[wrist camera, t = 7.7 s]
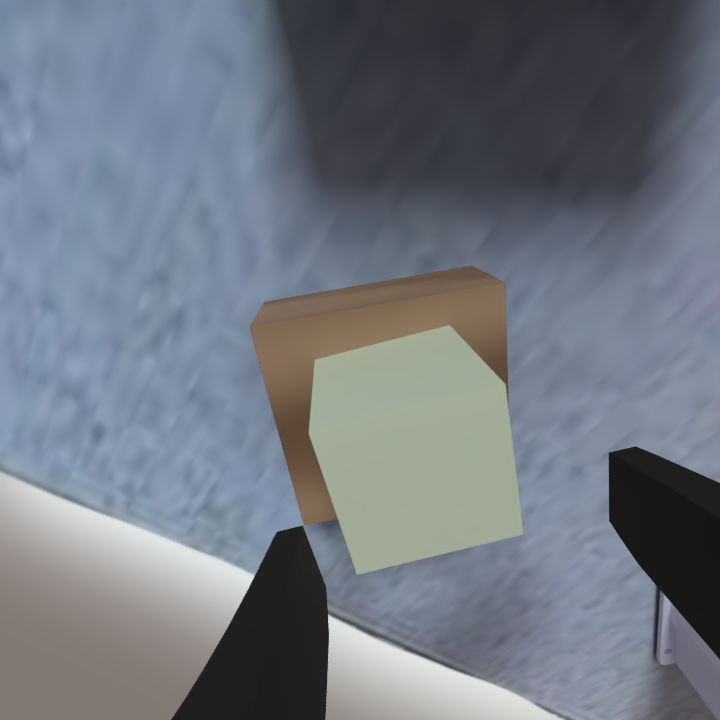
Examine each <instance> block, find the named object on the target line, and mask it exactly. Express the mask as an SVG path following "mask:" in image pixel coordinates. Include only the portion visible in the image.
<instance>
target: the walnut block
mask: <svg viewBox="0 0 720 720" xmlns="http://www.w3.org/2000/svg"><path fill="white" fill-rule="evenodd" d="M448 325H450V326H451V327H452V328H453V329H454V330H455V331H456V332H457V333H458V334H459V335H460V337H461V338H462V339H463V340H464V341H465V342H466V343H467V344H468V345H469V346H470V347H471V348H472V349H473V350H474V351H475V352H476V354H477V355H478V356H479V357H480V358H481V359H482V360H483V361H484V362H485V363H486V364H487V365H488V366H489V367H490V368H491V369H492V370H493V372H494V373H495V374H496V375H497V376H498V377H499V378H500V379H501V380H502V381H503V382H504V383H505V385H506V394H507V402H508V368H507V331H506V294H505V282H503V281H501V280H499V279H497V278H495V277H493V276H491V275H489V274H487V273H485V272H483V271H481V270H479V269H477V268H475V267H473V266H467V267H462V268H456V269H450V270H445V271H439V272H433V273H428V274H422V275H416V276H410V277H405V278H399V279H393V280H388V281H382V282H376V283H370V284H365V285H359V286H353V287H348V288H342V289H336V290H330V291H325V292H319V293H313V294H308V295H302V296H296V297H291V298H285V299H279V300H273V301H268V302H264V304H263V306H262V307H261V309H260V311H259V312H258V314H257V316H256V317H255V319H254V321H253V322H252V324H251V325H250V331H251V335H252V338H253V342H254V346H255V349H256V353H257V356H258V360H259V364H260V367H261V371H262V375H263V378H264V382H265V386H266V389H267V393H268V396H269V400H270V404H271V407H272V411H273V415H274V418H275V422H276V425H277V429H278V433H279V436H280V440H281V444H282V447H283V451H284V454H285V458H286V462H287V465H288V469H289V473H290V476H291V480H292V483H293V487H294V491H295V494H296V498H297V502H298V505H299V509H300V512H301V516H302V520H303V523H304V525H308V524H314V523H320V522H325V521H331V520H337V519H338V518H337V515H336V512H335V509H334V506H333V503H332V500H331V497H330V494H329V491H328V488H327V486H326V483H325V480H324V477H323V474H322V471H321V468H320V465H319V462H318V459H317V456H316V454H315V451H314V448H313V445H312V442H311V439H310V436H309V424H310V411H311V399H312V387H313V375H314V363H315V359H319V358H323V357H327V356H331V355H335V354H339V353H343V352H347V351H351V350H354V349H358V348H362V347H366V346H370V345H374V344H378V343H382V342H386V341H390V340H394V339H397V338H401V337H405V336H409V335H413V334H417V333H421V332H425V331H429V330H433V329H437V328H441V327H445V326H448ZM508 410H509V406H508Z"/></svg>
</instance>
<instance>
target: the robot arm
mask: <svg viewBox="0 0 720 720" xmlns="http://www.w3.org/2000/svg"><path fill="white" fill-rule="evenodd" d="M609 521H610V523H611V524H612V526H613V527H614V529H615V530H616V532H617V533H618V535H619V536H620V538H621V539H622V541H623V542H624V544H625V545H626V547H627V548H628V550H629V551H630V553H631V554H632V555H633V557H634V558H635V560H636V561H637V563H638V564H639V565H640V566H641V568H642V569H643V570H644V571H645V572H646V574H647V575H648V576H649V577H650V578H651V580H652V581H653V582H654V583H655V584H656V586H657V587H658V588H659V589H660V602H659V619H658V636H657V652H656V658H657V660H658V661H659V663H660V664H661V665H669V664H674V663H676V664H677V666H678V667H679V668H680V670H681V671H682V673H683V674H684V675H685V677H686V678H687V679H688V681H689V682H690V683H691V685H692V686H693V687H694V689H695V690H696V691H697V693H698V694H699V695H700V697H701V698H702V700H703V701H704V702H705V704H706V705H707V706H708V708H709V709H710V710H711V712H712V713H713V714H714V716H715V717H716V718H717V720H720V483H719V482H716V481H714V480H712V479H710V478H707V477H705V476H703V475H700V474H698V473H696V472H694V471H691V470H689V469H687V468H685V467H682V466H680V465H678V464H676V463H673V462H671V461H669V460H667V459H664V458H662V457H660V456H657V455H655V454H653V453H650V452H648V451H645V450H643V449H640V448H638V447H631V448H627V449H623V450H618V451H614V452H610V453H609ZM328 645H329V629H328V610H327V595H326V586H325V583H324V581H323V578H322V575H321V573H320V570H319V567H318V565H317V562H316V559H315V557H314V554H313V552H312V549H311V546H310V544H309V541H308V538H307V536H306V533H305V530H304V528H303V526H300V527H295V528H291V529H287V530H283V531H279V532H277V533H276V535H275V536H274V538H273V540H272V542H271V544H270V546H269V548H268V550H267V553H266V555H265V557H264V559H263V561H262V563H261V565H260V567H259V569H258V571H257V573H256V575H255V577H254V579H253V581H252V583H251V585H250V587H249V589H248V591H247V593H246V594H245V596H244V598H243V600H242V602H241V604H240V606H239V608H238V610H237V611H236V613H235V615H234V617H233V619H232V621H231V623H230V624H229V626H228V628H227V630H226V631H225V633H224V635H223V637H222V638H221V640H220V642H219V644H218V645H217V647H216V649H215V650H214V652H213V654H212V655H211V657H210V659H209V661H208V662H207V664H206V666H205V667H204V669H203V671H202V672H201V674H200V676H199V677H198V679H197V681H196V682H195V684H194V685H193V687H192V689H191V690H190V692H189V693H188V695H187V697H186V698H185V700H184V701H183V703H182V704H181V706H180V707H179V709H178V710H177V712H176V713H175V715H174V716H173V718H172V719H171V720H325V714H326V713H325V712H326V692H327V670H328Z"/></svg>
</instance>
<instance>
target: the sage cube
mask: <svg viewBox="0 0 720 720" xmlns="http://www.w3.org/2000/svg"><path fill="white" fill-rule="evenodd" d="M309 436H310V439H311V442H312V445H313V448H314V451H315V454H316V456H317V459H318V462H319V465H320V468H321V471H322V474H323V477H324V480H325V483H326V486H327V488H328V491H329V494H330V497H331V500H332V503H333V506H334V509H335V512H336V515H337V518H338V521H339V523H340V526H341V529H342V532H343V535H344V538H345V541H346V544H347V547H348V550H349V553H350V556H351V558H352V561H353V564H354V567H355V570H356V573H357V575H358V574H363V573H367V572H371V571H375V570H379V569H383V568H387V567H391V566H396V565H400V564H404V563H408V562H412V561H416V560H420V559H424V558H428V557H433V556H437V555H441V554H445V553H449V552H453V551H457V550H461V549H466V548H470V547H474V546H478V545H482V544H486V543H490V542H494V541H498V540H503V539H507V538H511V537H515V536H519V535H523V525H522V517H521V509H520V501H519V492H518V484H517V476H516V468H515V460H514V451H513V443H512V435H511V427H510V418H509V410H508V402H507V394H506V385H505V383H504V382H503V381H502V380H501V379H500V378H499V377H498V376H497V375H496V374H495V373H494V372H493V370H492V369H491V368H490V367H489V366H488V365H487V364H486V363H485V362H484V361H483V360H482V359H481V358H480V357H479V356H478V355H477V354H476V352H475V351H474V350H473V349H472V348H471V347H470V346H469V345H468V344H467V343H466V342H465V341H464V340H463V339H462V338H461V337H460V335H459V334H458V333H457V332H456V331H455V330H454V329H453V328H452V327H451V326H450V325H448V326H445V327H441V328H437V329H433V330H429V331H425V332H421V333H417V334H413V335H409V336H405V337H401V338H397V339H394V340H390V341H386V342H382V343H378V344H374V345H370V346H366V347H362V348H358V349H354V350H351V351H347V352H343V353H339V354H335V355H331V356H327V357H323V358H319V359H315V363H314V375H313V387H312V399H311V411H310V424H309Z"/></svg>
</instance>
